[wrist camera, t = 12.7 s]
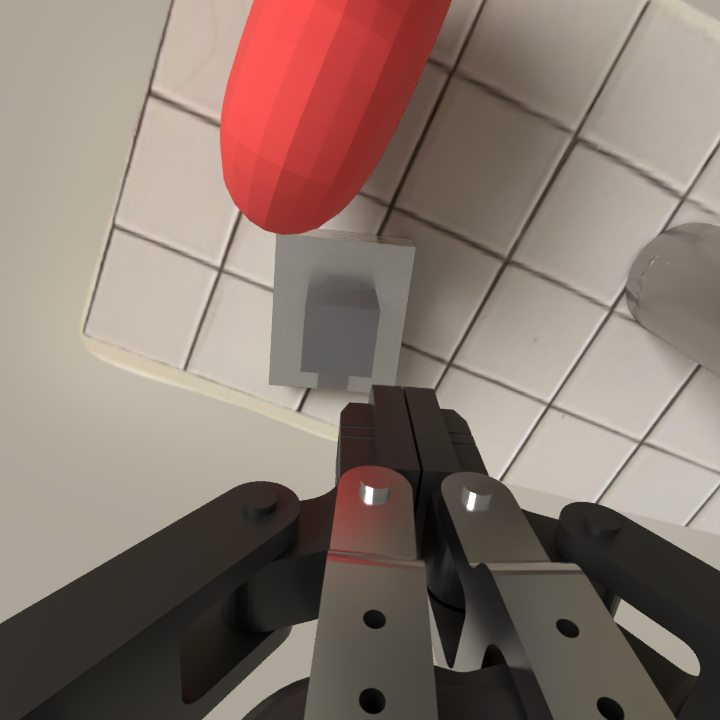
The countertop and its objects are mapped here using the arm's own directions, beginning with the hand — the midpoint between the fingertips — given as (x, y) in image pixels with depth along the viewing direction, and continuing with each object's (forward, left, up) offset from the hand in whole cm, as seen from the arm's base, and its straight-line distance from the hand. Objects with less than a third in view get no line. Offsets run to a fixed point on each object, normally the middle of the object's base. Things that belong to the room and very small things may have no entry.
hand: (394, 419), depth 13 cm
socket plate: (+1, +7, -30) cm, 31 cm away
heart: (+2, -10, -31) cm, 32 cm away
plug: (+1, +7, -30) cm, 31 cm away
